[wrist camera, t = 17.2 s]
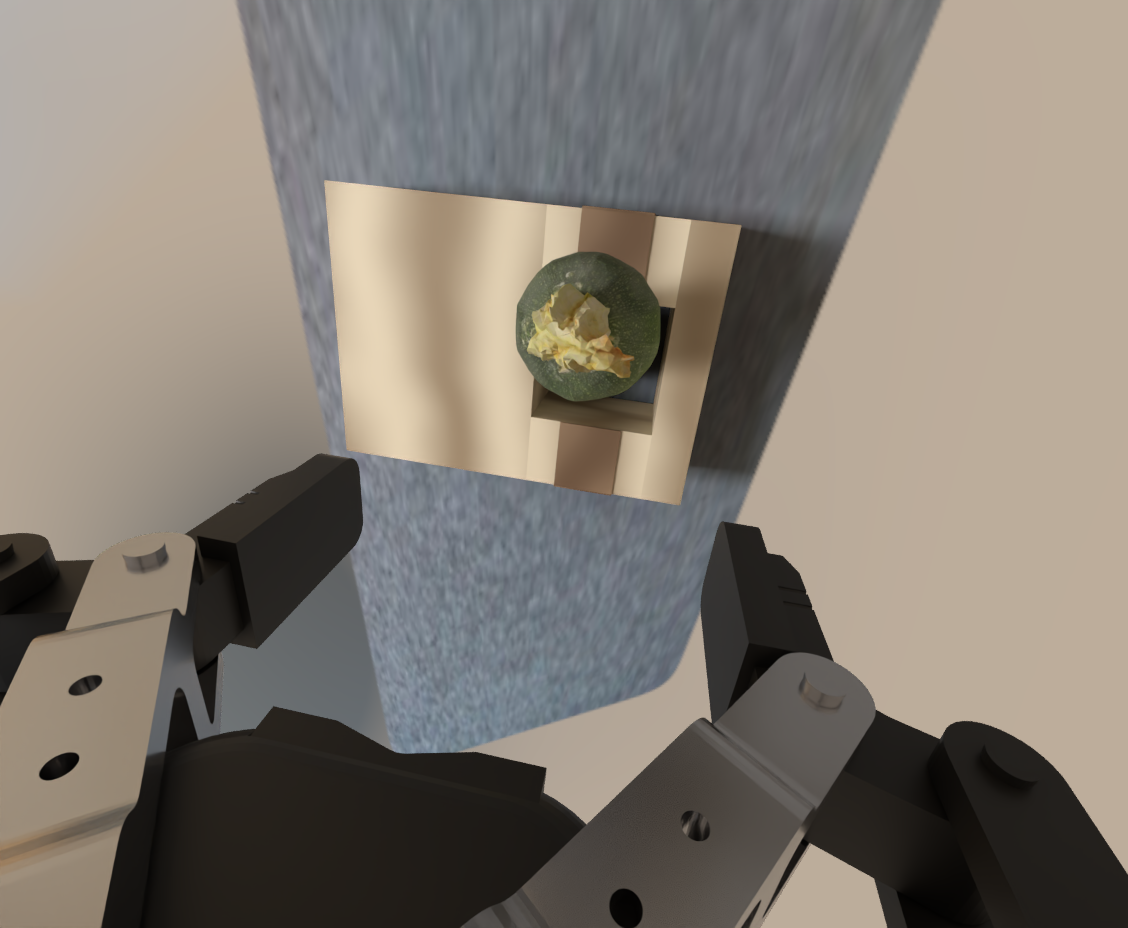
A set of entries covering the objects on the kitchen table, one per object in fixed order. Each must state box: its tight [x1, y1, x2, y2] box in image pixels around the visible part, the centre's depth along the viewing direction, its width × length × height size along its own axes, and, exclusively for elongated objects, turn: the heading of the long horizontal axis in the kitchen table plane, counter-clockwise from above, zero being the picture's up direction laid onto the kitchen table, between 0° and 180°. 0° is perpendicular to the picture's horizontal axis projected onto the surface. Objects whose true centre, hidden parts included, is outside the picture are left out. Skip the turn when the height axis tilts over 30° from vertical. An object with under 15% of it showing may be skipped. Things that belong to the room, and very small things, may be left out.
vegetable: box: [516, 252, 660, 402], centre depth 19 cm, size 4×4×20 cm
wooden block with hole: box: [324, 180, 741, 505], centre depth 27 cm, size 18×13×5 cm
